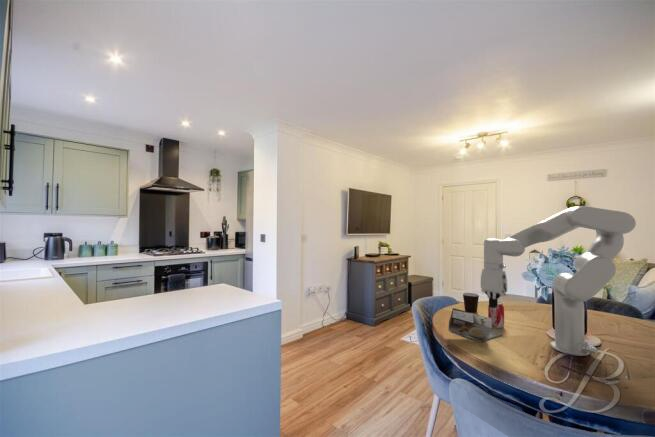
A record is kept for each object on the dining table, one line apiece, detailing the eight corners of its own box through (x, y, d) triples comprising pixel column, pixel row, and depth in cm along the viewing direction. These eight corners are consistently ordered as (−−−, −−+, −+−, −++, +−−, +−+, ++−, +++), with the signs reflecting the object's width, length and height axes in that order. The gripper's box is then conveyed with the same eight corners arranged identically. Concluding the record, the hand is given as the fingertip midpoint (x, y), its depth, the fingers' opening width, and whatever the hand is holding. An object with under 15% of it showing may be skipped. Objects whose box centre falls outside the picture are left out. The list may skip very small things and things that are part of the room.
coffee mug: (467, 308, 181) (466, 291, 181) (481, 311, 174) (481, 294, 174) (457, 312, 173) (457, 295, 174) (472, 315, 167) (472, 297, 167)
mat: (501, 335, 137) (501, 334, 137) (479, 342, 130) (479, 341, 130) (471, 325, 151) (471, 324, 151) (450, 331, 143) (450, 330, 143)
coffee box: (491, 317, 130) (452, 306, 136) (492, 328, 125) (452, 316, 131) (486, 331, 135) (448, 320, 140) (486, 342, 130) (448, 331, 135)
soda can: (506, 329, 146) (506, 305, 146) (490, 328, 147) (490, 304, 147) (501, 324, 153) (501, 301, 153) (486, 323, 154) (486, 300, 154)
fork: (562, 365, 110) (562, 360, 110) (620, 386, 96) (620, 380, 96) (559, 367, 108) (559, 362, 108) (617, 389, 94) (617, 382, 94)
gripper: (515, 268, 128) (515, 310, 128) (482, 263, 141) (482, 302, 141) (505, 269, 124) (505, 313, 124) (472, 264, 137) (472, 304, 137)
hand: (493, 307), depth 133 cm, fingers closed
